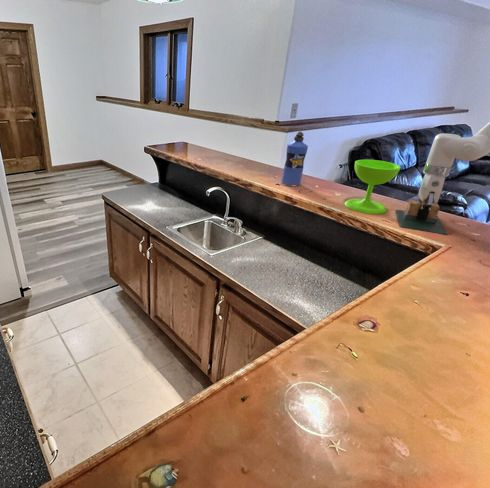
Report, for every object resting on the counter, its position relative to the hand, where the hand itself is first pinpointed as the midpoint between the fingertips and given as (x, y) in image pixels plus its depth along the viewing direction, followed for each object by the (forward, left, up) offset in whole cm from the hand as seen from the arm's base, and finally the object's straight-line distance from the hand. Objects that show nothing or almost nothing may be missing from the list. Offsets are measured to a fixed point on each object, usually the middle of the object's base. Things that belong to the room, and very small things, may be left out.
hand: (419, 216), depth 133 cm
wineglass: (+18, -7, -2) cm, 19 cm away
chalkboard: (0, +3, -2) cm, 3 cm away
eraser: (0, 0, -1) cm, 1 cm away
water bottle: (+51, -27, -2) cm, 58 cm away
